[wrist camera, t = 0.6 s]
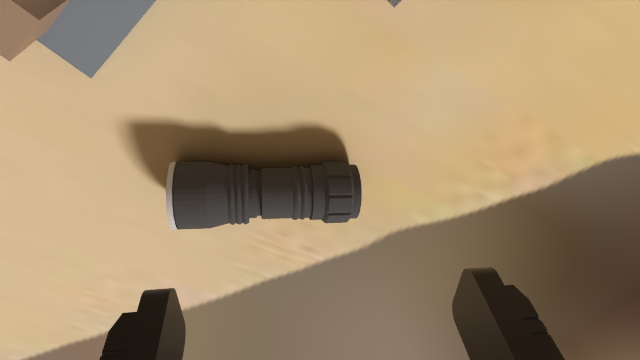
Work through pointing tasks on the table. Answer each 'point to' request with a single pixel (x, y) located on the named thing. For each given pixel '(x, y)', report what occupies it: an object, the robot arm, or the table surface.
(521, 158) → the table surface
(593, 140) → the table surface
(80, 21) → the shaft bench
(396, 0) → the coupler
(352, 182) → the flashlight
